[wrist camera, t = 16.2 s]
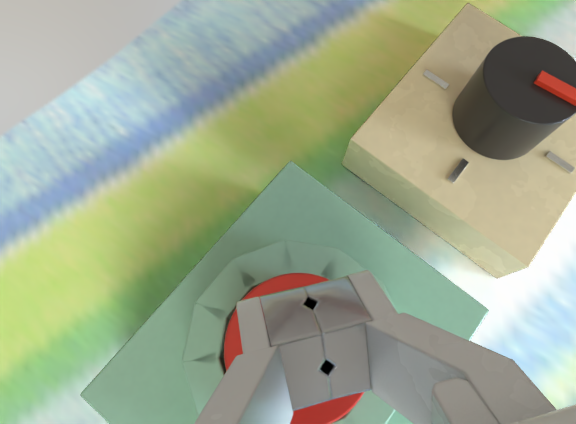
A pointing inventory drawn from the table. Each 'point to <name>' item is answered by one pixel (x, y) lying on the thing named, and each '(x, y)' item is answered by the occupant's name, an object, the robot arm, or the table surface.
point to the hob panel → (463, 157)
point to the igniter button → (308, 420)
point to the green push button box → (250, 273)
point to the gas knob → (516, 98)
